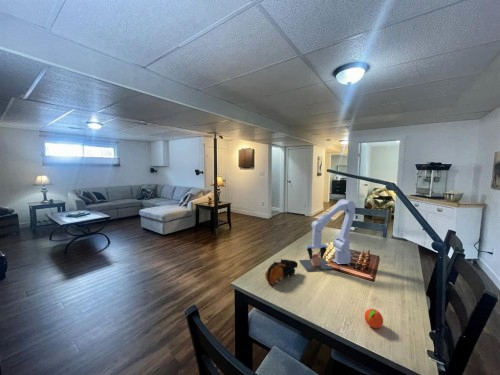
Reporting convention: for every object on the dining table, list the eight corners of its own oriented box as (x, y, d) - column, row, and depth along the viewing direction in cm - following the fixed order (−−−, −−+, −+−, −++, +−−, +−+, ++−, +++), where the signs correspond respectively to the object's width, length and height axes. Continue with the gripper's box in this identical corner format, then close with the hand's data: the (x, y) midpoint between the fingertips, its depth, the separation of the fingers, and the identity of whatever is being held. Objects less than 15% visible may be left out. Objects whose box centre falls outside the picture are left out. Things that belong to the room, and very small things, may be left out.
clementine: (376, 336, 86) (377, 319, 85) (359, 325, 91) (360, 310, 90) (385, 327, 90) (386, 311, 89) (368, 317, 96) (369, 302, 95)
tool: (294, 287, 131) (301, 263, 133) (270, 287, 117) (278, 259, 119) (284, 281, 138) (291, 258, 139) (260, 280, 123) (268, 254, 125)
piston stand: (323, 259, 153) (323, 253, 152) (333, 269, 139) (333, 262, 138) (299, 261, 150) (299, 254, 150) (307, 271, 136) (307, 264, 136)
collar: (317, 262, 147) (317, 253, 146) (321, 265, 142) (321, 256, 141) (310, 262, 146) (311, 254, 146) (313, 266, 141) (314, 257, 141)
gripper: (308, 241, 137) (308, 261, 139) (330, 240, 139) (329, 260, 141) (304, 237, 144) (303, 257, 146) (324, 236, 146) (324, 255, 148)
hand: (316, 258), depth 144 cm, fingers open, 7 cm apart
